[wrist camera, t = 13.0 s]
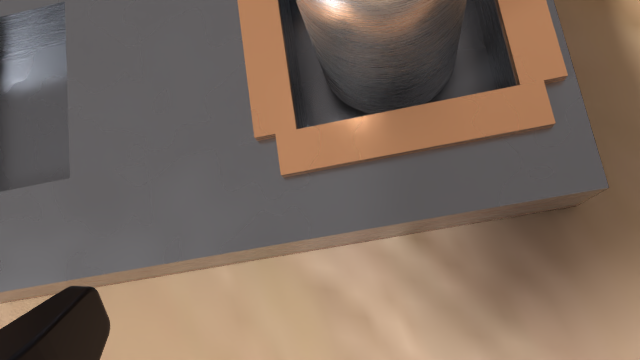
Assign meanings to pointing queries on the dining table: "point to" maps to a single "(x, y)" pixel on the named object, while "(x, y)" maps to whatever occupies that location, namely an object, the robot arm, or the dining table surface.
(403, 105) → the steel peg
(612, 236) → the dining table surface
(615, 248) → the dining table surface
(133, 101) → the socket rail
